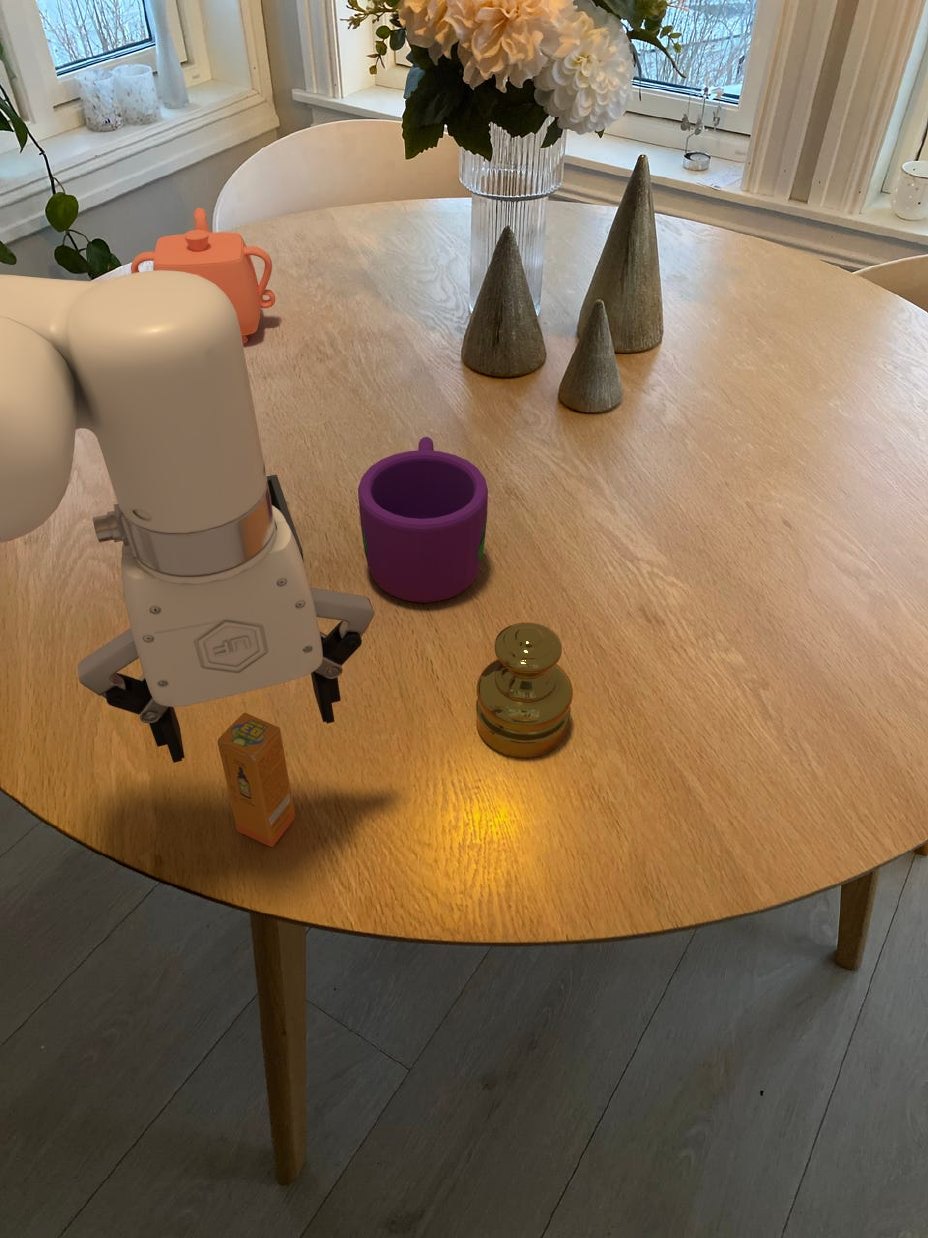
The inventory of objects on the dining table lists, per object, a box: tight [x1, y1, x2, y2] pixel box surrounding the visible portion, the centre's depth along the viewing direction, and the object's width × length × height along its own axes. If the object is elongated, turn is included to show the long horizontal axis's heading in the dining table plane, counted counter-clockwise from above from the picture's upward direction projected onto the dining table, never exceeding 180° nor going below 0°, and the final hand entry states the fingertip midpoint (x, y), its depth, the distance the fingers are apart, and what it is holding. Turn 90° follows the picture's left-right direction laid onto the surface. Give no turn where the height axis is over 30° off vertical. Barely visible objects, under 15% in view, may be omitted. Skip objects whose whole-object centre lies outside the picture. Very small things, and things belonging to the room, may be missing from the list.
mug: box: [357, 436, 489, 603], centre depth 89 cm, size 17×11×10 cm, turn 0°
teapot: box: [130, 207, 276, 345], centre depth 119 cm, size 15×17×13 cm
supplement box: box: [217, 712, 296, 848], centre depth 66 cm, size 3×3×10 cm
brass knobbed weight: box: [475, 621, 574, 758], centre depth 73 cm, size 7×7×10 cm
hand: (251, 725), depth 62 cm, fingers open, 9 cm apart
